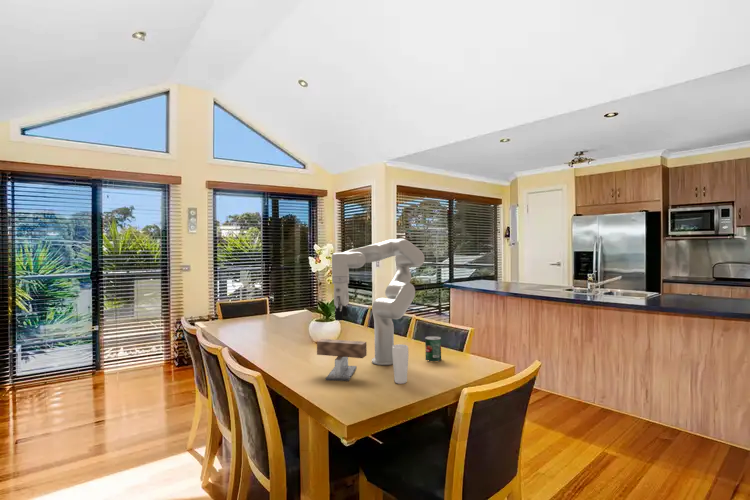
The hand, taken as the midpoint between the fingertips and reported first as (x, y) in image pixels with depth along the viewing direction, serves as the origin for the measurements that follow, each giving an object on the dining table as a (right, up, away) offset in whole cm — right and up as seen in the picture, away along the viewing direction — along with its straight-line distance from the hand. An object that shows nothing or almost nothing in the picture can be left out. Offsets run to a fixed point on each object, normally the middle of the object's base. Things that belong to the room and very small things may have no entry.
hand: (341, 318), depth 173 cm
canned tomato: (+44, -25, +20) cm, 55 cm away
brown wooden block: (0, -17, 0) cm, 17 cm away
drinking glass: (+26, -25, -12) cm, 38 cm away
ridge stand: (0, -25, 0) cm, 25 cm away
